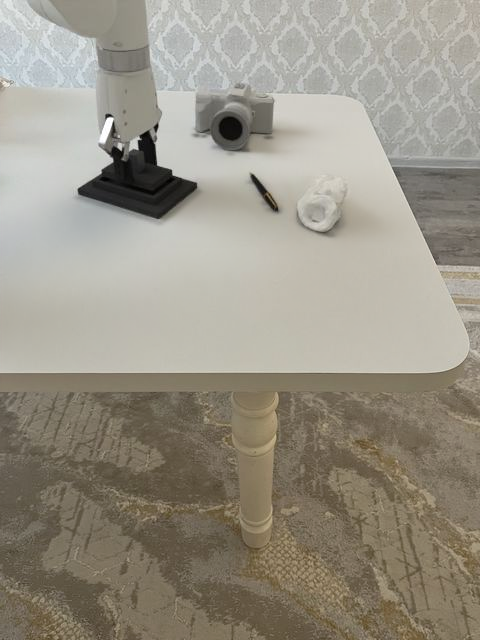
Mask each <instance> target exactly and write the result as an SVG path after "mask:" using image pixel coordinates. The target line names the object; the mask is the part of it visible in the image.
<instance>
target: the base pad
mask: <svg viewBox="0 0 480 640" xmlns="http://www.w3.org/2000/svg"><path fill="white" fill-rule="evenodd" d="M197 189H198V182H197V181H196V182H195V181H192V180H189V179H186V178H183V177H180V176H176V175H173V176H172V177H171V178H170V179H168V180H167V181H166V182H164V183H163V184H162V185H160V186H159V187H157V188H156V189H155V190H153V191H151V190H147V189H144V188H140V187H137V186H134V185H130V184H127V183H123V182H120V181H116V180H113V179H110V178H106V177H103V176H102V172H101V173H100V174H98V175H97V176H94V178H92V179H90V180H88V181H87V182H85V183H84V184H83V185H80V186H79V187H78V188H77V194H78V195H80V196H83V197H86V198H90V199H92V200H96V201H99V202H103V203H106V204H109V205H112V206H115V207H118V208H122V209H126V210H129V211H131V212H135V213H138V214H141V215H145V216H148V217H151V218H155V219H158V220H160V219H161V218H162V217H163V216H165V215H166V214H167V213H168V212H169V211H171V210H172V209H173V208H174V207H176V206H177V205H178V204H180V202H182V201H183V200H185V199H186V198H187V197H188V196H190V195H191V194H192V193H194V191H195V190H197Z"/></svg>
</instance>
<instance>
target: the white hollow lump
mask: <svg viewBox="0 0 480 640" xmlns="http://www.w3.org/2000/svg"><path fill="white" fill-rule="evenodd" d="M347 186H348V185H347V183H346V180H345V179H344V178H342V176H339V177H335V178H334V177H333V176H332V175H331V174H328V173H324V174H320V175H319V176H317V177H316V178H315V180H314V181H313V183H312V184H311V185H310V186H309V187H308V189H307V191H306V192H305V194H304V195H303V197H301V198H299V200H297V201H296V208H295V209H296V211H297V214H298V215H297V216H298V219H299V220H300V222H301V223H302V225H304V226H305V227H306V228H307V229H310V230H312V231H315V232H327V231H330V230H331V229H332V228H333V227H334V226H335V224H336V223H337V222H338V221H339V220H340V218H341V214H342V213H341V212H342V209H341V208H342V205H343V203H344V201H345V198H346V196H347V193H348V187H347Z"/></svg>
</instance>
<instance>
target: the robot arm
mask: <svg viewBox="0 0 480 640" xmlns="http://www.w3.org/2000/svg"><path fill="white" fill-rule="evenodd" d="M26 2H27V4H28V5H29V7H30V9H31V10H32V11H33V12H35V13H36V14H37V15H38V16H39V17H41V18H42V19H44V20H46V21H47V22H50V23H52V24H54V25H56V26H58V27H60V28H64V29H65V30H67V31H69V32H71V33H73V34H74V35H77V36H79V37H81V38H85V39H94V42H95V49H96V56H97V63H98V70H97V71H96V75H95V76H96V77H95V100H96V101H95V103H96V116H97V123H98V131H99V135H100V137H99V140H98V143H97V144H98V147H99V148H100V149H101V150H103V151H104V152H105V153H106V154H107V155H109V158H112V163H114V170H115V177H116V179H117V180H119V181H123V182H126V183H130V184H131V183H133V182H134V180H133V179H134V178H133V170H132V161H131V159H128V155H129V151H130V145H131V141H133V140H134V139H137V138H138V137H139V139H137V150H140V151H143V152H144V161H145V162H146V163H150V164H153V165H157V166H158V157H157V145H156V143H157V141H158V135H157V133H158V130H159V128H160V124H159V123H160V121H161V119H162V115H163V111H162V110H161V108H159V102H158V95H157V94H158V93H157V87H156V86H157V85H156V81H155V76H154V71H153V66H152V63H151V51H150V50H151V49H150V40H149V28H148V16H147V4H146V0H26ZM119 144H121V149H120V148H119V147H118V145H119Z"/></svg>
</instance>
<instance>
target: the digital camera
mask: <svg viewBox="0 0 480 640" xmlns="http://www.w3.org/2000/svg"><path fill="white" fill-rule="evenodd" d="M275 102H276V100H275V98H274V95H271V94H268V93H264V92H262V93H261V92H254V91H252V88H251V85H250V84H249V83H243V82H233V84H232V86H231V87H230V89H222V88H211V87H200V88H198V89H197V91H196V92H195V103H194V104H195V107H194V112H195V113H194V114H195V130H196V131H197V132H199V133H204V132H206V131H208V130H209V132H210V137H211V139H212V140H213V142H214V143H215V144H216V145H217V146H218V147H219V148H220V149H222V150H226V151H229V152H230V151H238V150H239V149H241V148H243V147H244V146H245V145H246V143H247V142H248V140H249V137H250V135H251V133H257V134H269V135H270V134H271V133H272V132H273V126H274V125H273V123H274V108H275V106H274V105H275Z"/></svg>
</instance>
